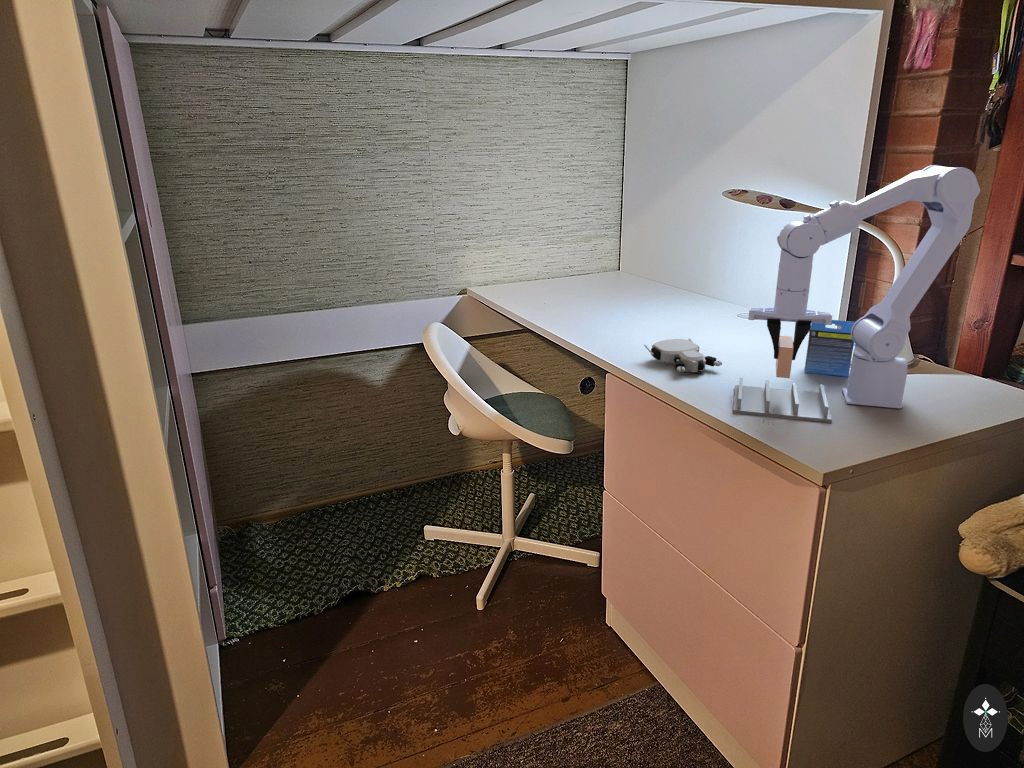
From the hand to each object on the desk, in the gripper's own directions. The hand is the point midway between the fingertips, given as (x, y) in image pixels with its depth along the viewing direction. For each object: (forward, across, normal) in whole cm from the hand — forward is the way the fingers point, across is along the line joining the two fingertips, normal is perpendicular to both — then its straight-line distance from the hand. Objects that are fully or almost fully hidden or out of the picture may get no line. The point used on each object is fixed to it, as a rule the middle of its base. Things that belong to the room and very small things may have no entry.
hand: (784, 357), depth 133 cm
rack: (+8, 0, +3) cm, 9 cm away
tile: (+3, 0, 0) cm, 3 cm away
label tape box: (+9, -10, -19) cm, 23 cm away
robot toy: (+9, +20, -16) cm, 27 cm away
